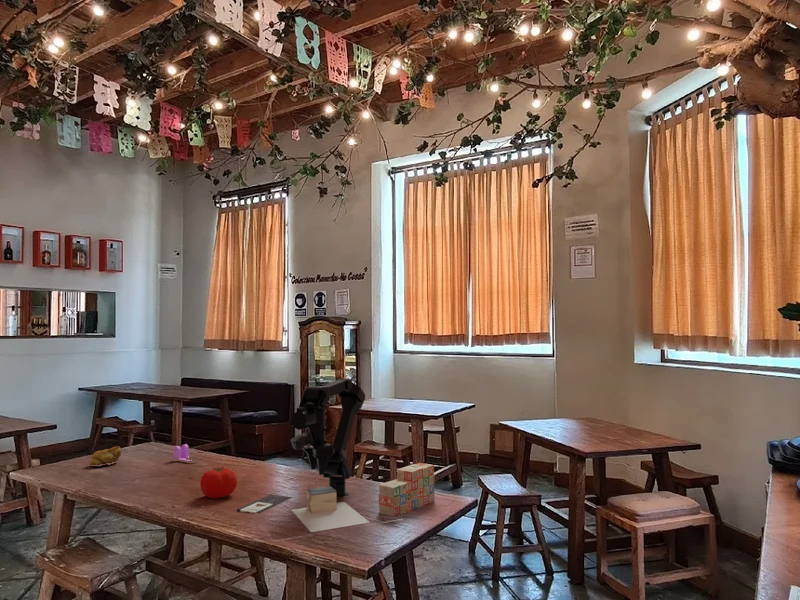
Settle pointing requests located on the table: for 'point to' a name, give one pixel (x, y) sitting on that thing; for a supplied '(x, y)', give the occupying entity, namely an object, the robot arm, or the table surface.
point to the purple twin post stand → (181, 452)
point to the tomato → (218, 482)
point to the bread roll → (106, 456)
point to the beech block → (321, 499)
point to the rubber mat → (330, 518)
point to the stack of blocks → (407, 490)
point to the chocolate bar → (263, 504)
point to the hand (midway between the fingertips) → (317, 471)
